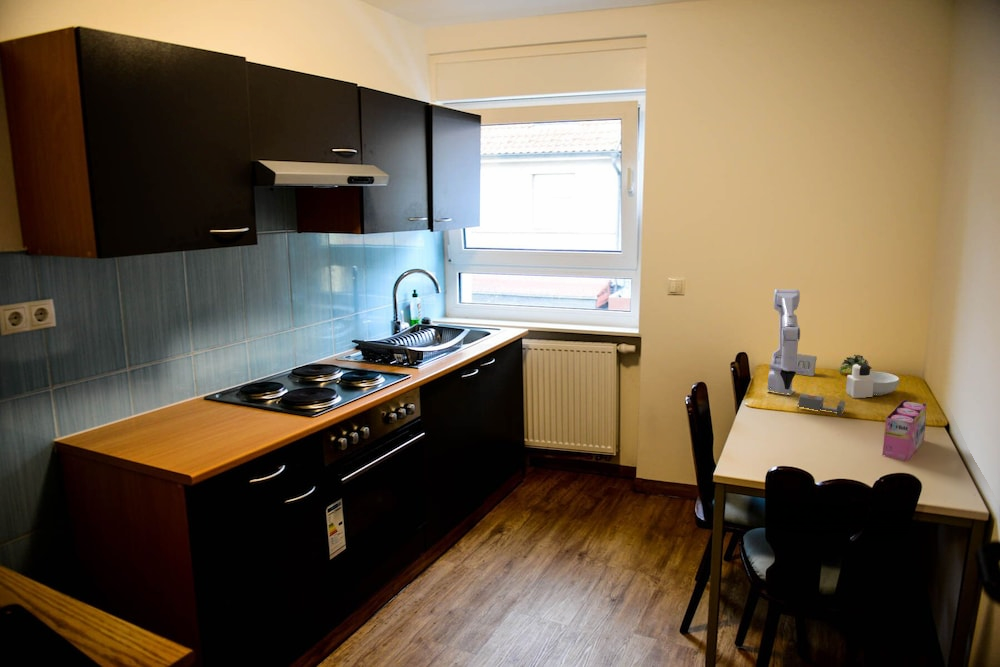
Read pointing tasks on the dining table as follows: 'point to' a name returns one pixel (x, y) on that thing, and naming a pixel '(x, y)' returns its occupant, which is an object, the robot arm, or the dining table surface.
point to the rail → (839, 408)
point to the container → (860, 382)
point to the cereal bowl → (883, 382)
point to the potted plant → (852, 363)
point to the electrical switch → (807, 363)
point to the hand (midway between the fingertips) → (787, 388)
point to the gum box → (904, 430)
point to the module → (811, 401)
